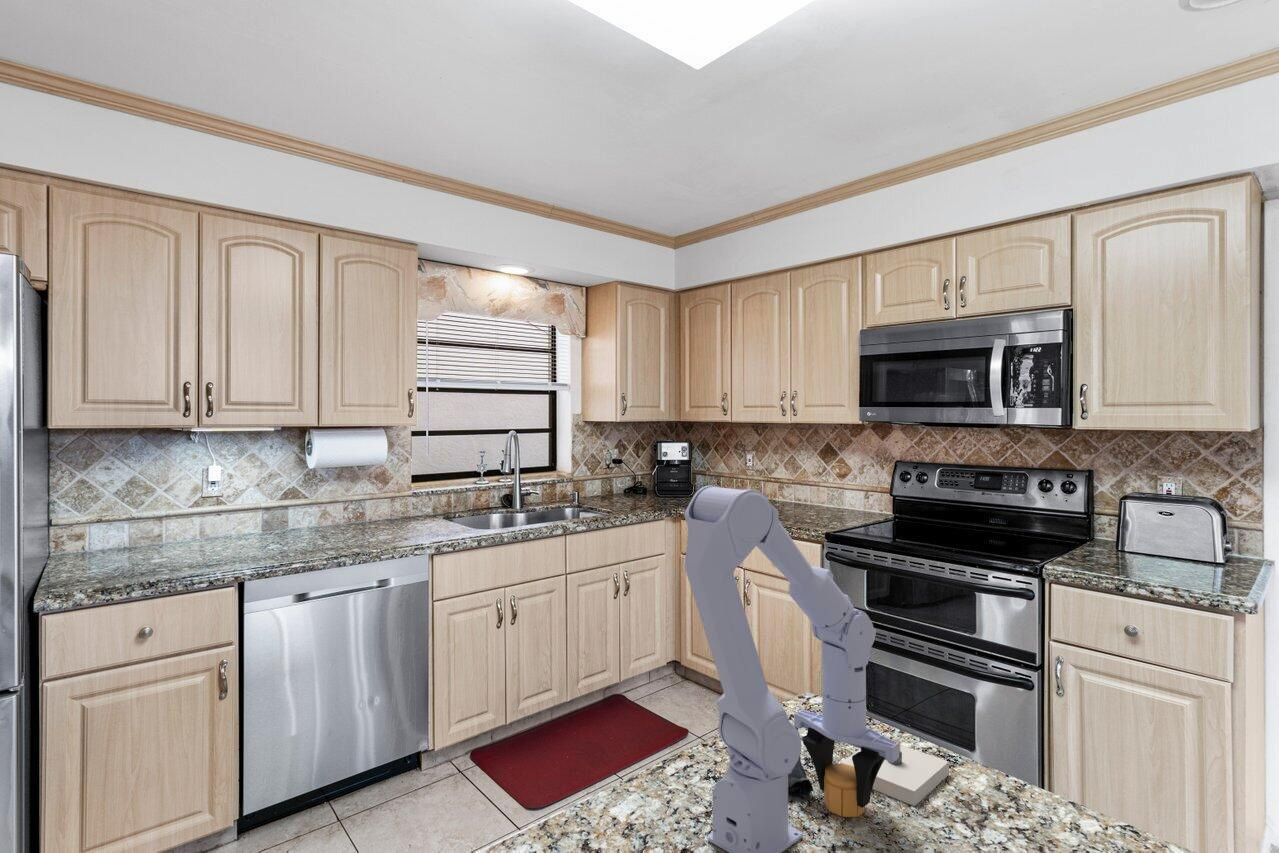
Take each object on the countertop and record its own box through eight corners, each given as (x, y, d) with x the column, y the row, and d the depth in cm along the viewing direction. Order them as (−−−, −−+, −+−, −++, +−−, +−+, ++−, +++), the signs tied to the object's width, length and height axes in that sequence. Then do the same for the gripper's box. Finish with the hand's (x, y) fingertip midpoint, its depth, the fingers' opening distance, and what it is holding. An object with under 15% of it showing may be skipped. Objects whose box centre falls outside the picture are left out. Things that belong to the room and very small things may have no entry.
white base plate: (914, 806, 88) (914, 769, 88) (840, 776, 96) (840, 741, 96) (949, 775, 96) (948, 741, 96) (878, 749, 104) (878, 718, 104)
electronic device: (819, 810, 90) (793, 745, 104) (815, 774, 89) (790, 713, 104) (753, 819, 90) (736, 752, 105) (748, 782, 89) (732, 720, 104)
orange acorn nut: (852, 821, 84) (852, 786, 84) (818, 805, 88) (818, 772, 88) (870, 806, 87) (870, 773, 88) (837, 792, 91) (836, 759, 91)
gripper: (909, 702, 85) (910, 806, 85) (812, 673, 96) (813, 766, 96) (884, 717, 81) (885, 827, 80) (785, 685, 91) (786, 783, 91)
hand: (844, 795), depth 88 cm, fingers closed on orange acorn nut, 5 cm apart
